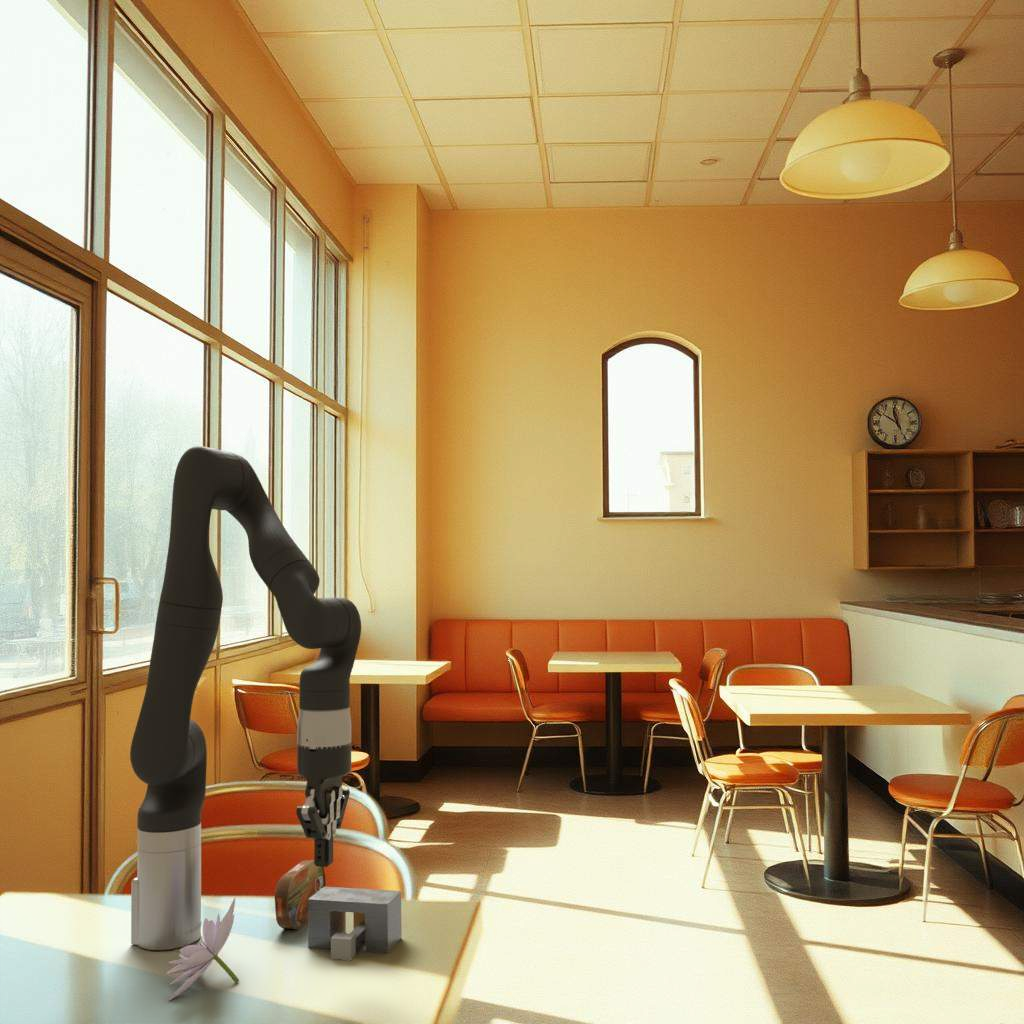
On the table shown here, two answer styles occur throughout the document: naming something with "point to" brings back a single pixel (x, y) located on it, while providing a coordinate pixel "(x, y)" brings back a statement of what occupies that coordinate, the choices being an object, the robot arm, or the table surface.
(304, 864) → the tin
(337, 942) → the plug
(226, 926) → the water lily
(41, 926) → the table surface
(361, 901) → the housing
